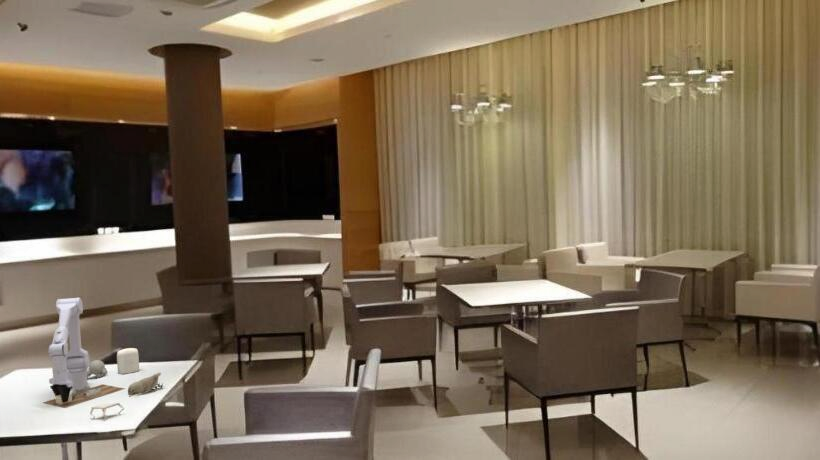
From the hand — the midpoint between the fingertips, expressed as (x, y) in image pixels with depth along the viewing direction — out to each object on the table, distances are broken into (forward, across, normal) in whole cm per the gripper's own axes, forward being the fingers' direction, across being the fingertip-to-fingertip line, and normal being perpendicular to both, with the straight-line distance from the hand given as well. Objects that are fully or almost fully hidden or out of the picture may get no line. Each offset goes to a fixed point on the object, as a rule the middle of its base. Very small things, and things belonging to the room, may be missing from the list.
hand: (62, 401), depth 294 cm
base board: (+2, 0, +10) cm, 11 cm away
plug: (+1, 0, +1) cm, 1 cm away
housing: (+1, 0, +11) cm, 11 cm away
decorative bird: (+2, +20, +27) cm, 34 cm away
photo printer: (+2, -18, +46) cm, 49 cm away
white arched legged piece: (+2, +34, -1) cm, 34 cm away
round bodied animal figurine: (+2, -26, +32) cm, 42 cm away
